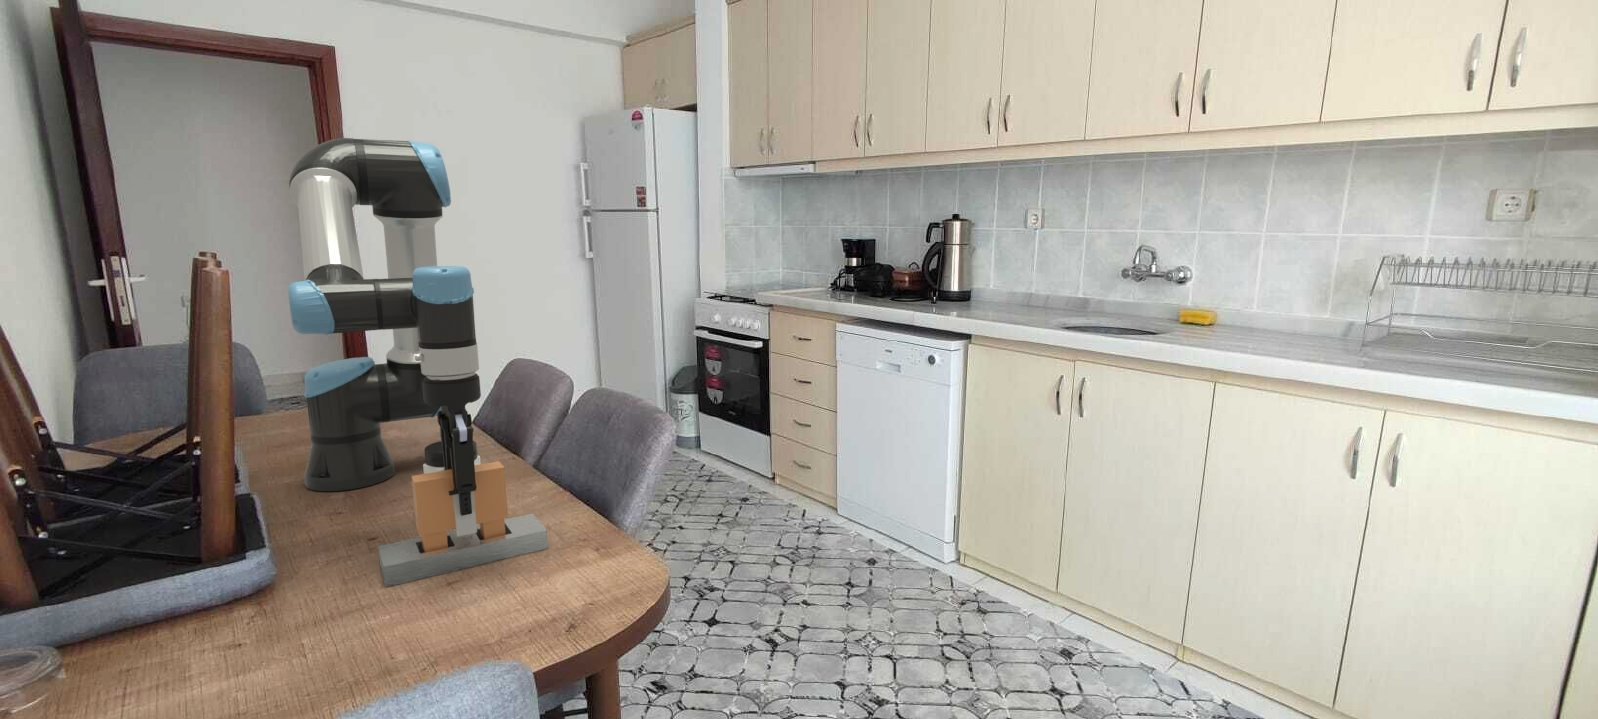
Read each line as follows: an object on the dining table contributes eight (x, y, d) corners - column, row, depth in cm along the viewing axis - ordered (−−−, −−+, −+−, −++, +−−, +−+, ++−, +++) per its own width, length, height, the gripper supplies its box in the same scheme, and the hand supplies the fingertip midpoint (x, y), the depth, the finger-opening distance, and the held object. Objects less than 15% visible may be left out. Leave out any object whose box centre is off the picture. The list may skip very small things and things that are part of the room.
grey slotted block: (380, 565, 107) (377, 546, 107) (534, 530, 120) (533, 513, 119) (385, 587, 101) (383, 566, 100) (548, 548, 113) (546, 530, 113)
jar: (431, 525, 122) (424, 456, 120) (424, 509, 129) (418, 443, 126) (488, 513, 127) (483, 447, 125) (479, 499, 133) (474, 435, 131)
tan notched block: (418, 547, 108) (411, 475, 106) (504, 528, 114) (498, 461, 113) (421, 556, 105) (414, 482, 103) (509, 536, 112) (504, 467, 110)
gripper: (413, 368, 110) (427, 516, 114) (430, 388, 96) (445, 555, 101) (467, 363, 114) (479, 506, 118) (491, 381, 101) (503, 542, 105)
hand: (463, 528), depth 109 cm, fingers closed on tan notched block, 3 cm apart
